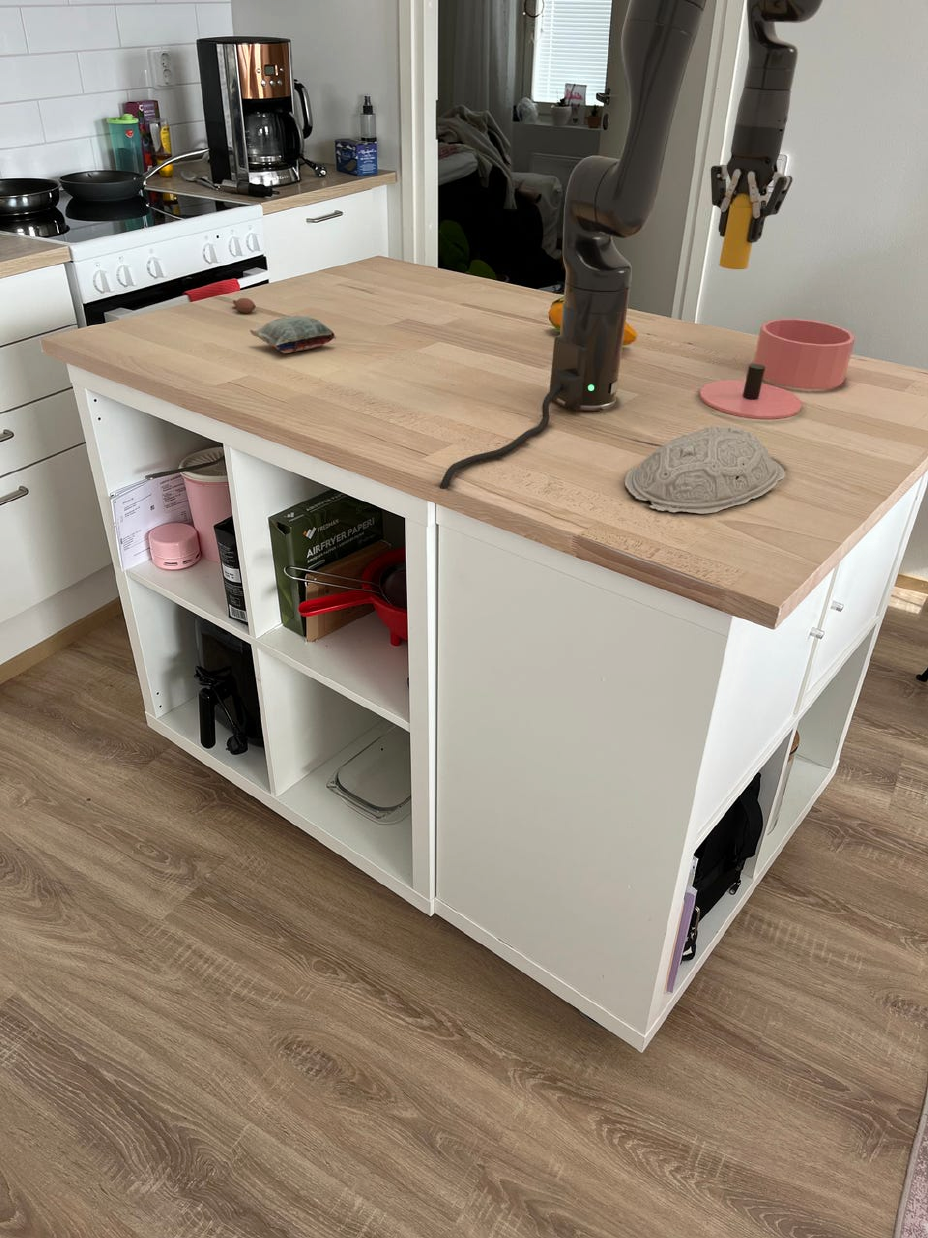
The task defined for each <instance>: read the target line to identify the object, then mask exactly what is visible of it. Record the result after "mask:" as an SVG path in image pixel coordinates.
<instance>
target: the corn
mask: <svg viewBox="0 0 928 1238" xmlns="http://www.w3.org/2000/svg"><path fill="white" fill-rule="evenodd" d="M563 300H564V295H562V296H561V297H559V298H557V299H556V300H554V301H552V303H551V305H550V309H549V310H548V320H549V322H550V324H551V325H552V326H553V328H555V330H556V331H557V332H559V333H560V331H561V320H562V310H563ZM637 337H638V333H637V331H636V330H635V328H633V327H632V326H631V325H630V324H629V323H628V322H626V323H625V330H624V338H623V345H622V346H629V345H631V344H632V343H634V342H636V340H637Z"/></svg>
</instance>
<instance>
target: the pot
mask: <svg viewBox="0 0 928 1238" xmlns="http://www.w3.org/2000/svg"><path fill="white" fill-rule="evenodd" d="M855 341H856V337H855V336H854V334H853V333H852V332H851V331H849V330H847V329H846V328H843V327H841V326H838V325H834V324H831V323H829V322H828V323H827V322H822V321H817V320H811V319H802V318H777V319H772V320H767V321H765V322H764V323H762V324H761V325H760V329H759V335H758V338H757V344H756V347H755V352H754V358H753V363H752V364H760V365H763V366H765V372H764V376H763V380H764V381H765V380H766V381H768V382H770V383H773V384H776V385H781V386H785V387H790V388H795V389H796V388H797V389H806V390H827V389H832V388H835V387H836V388H837V387H839V386H841V385H842V384H843V382H844V381H845V377H846V374H847V370H848V367H849V363H850V359H851V355H852V353H853V352H852V351H853V349H854V345H855Z"/></svg>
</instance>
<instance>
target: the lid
mask: <svg viewBox="0 0 928 1238" xmlns="http://www.w3.org/2000/svg"><path fill="white" fill-rule="evenodd" d="M764 372H765V366H763V365H760V364H753V363H750V364H749V365H748V369H747V372H746V378H745V380H741V379H732V380H731V379H728V380H718V381H712V382H709V383H707V384H705V385H703V386H702V387H701V388H700V390H699V398H700V399H701V401H702V402H703V403H705V404H706V405H707V406H709V407H711V408H713V409H715V410H716V411H720V412H723V413H726V414H729V415H734V416H737V417H743V418H749V419H760V420H761V419H762V420H763V419H764V420H774V419H782V418H784V419H785V418H788V417H792V416H794V415H797V414H799V412H800V411H801V410H802V405H803V403H802V400H801V399H800V398H799V397H798V396H797V395H796V394H795V393H793V392H791V391H789V390H787V389H784V388H782V387H780V386H776V385H771V384H769V383H764V382H763V380H764V379H763V376H764Z"/></svg>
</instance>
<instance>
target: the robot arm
mask: <svg viewBox="0 0 928 1238" xmlns="http://www.w3.org/2000/svg"><path fill="white" fill-rule="evenodd" d="M823 2H824V0H746V16H747V17H746V19H747V32H748V36H747V37H748V61H747V65H746V66H747V67H746V71H745V76H744V81H743V82H744V83H743V88H742V92H741V95H740V99H739V102H738V106H737V111H736V117H735V123H734V129H733V134H732V140H731V145H730V158H729V160H728V161H727V163H726V164H717V165H712V166H711V167H710V187H711V188H710V189H711V190H710V191H711V205H712V206H714V207H715V206H716V207H717V208H718V209H719V210H720V216H719V221H718V222H719V223H718V227H717V228H718V232H719V236H720V237H723V238H724V236H725V231H726V225H727V220H728V214H729V209H730V204H731V203H733V200H734V199H735V197H736V196H737V195H738V194H740V193H742V192H745V193H746V194H749V195H750V201H751V203H752V205H753V216H754V218H751V223H750V228H749V233H748V238H747V242H750V243H752V244H755V243H756V242H758V241H759V240H760V239H761V237H762V235H763V230H764V225H765V221H766V218H767V217H770V216H774V215H775V216H776V215H777V214H778V213H779V212H780V209H781V208H782V205H783V204H784V200H785V198H786V196H787V194H788V191H789V189H790V187H791V185H792V183H793V181H794V180H793V176H792V175H785V174H783V173H781V172H779V169H778V160H779V157H780V154H781V150H782V145H783V141H784V135H785V130H786V125H787V123H788V122H787V121H788V118H789V117H788V116H789V111H790V105H791V104H790V103H791V93H792V92H791V91H792V88H793V82H794V78H795V73H796V67H797V62H798V56H799V51H798V47H797V46H796V45H794V44H792V43H791V42H788V41H784V40H782V39H780V38H779V37H778V35H777V30H776V23H784V24H785V23H787V24H802V23H805V22H807V21H809V20H810V19H813V18H814V16H815V15H816V14H817V13H818V12H819V10H820V8H821V6H822V4H823ZM706 4H707V0H629V2H628V7H627V11H626V14H625V18H624V22H623V25H622V31H621V37H620V55H621V64H622V69H623V75H624V80H625V86H626V91H627V98H628V109H629V110H628V111H629V113H628V121H627V129H626V135H625V139H624V143H623V148H622V151H621V154H620V158H614V157H609V156H603V155H590V156H587V157H585V158H583V159H581V160H580V161H579V162H578V163H577V164H576V165H575V167H574V168H573V170H572V172H571V174H570V177H569V180H568V183H567V186H566V190H565V200H564V207H563V208H564V209H563V232H562V261H563V266H564V268H565V279H564V280H565V281H564V291H563V296H564V300H563V310H562V320H561V331H560V332H559V335H556V336H555V337H554V339H553V349H552V358H551V370H550V371H551V373H550V382H549V392H548V393H547V394H546V395H545V396H544V399H543V401H542V404H541V412H542V413H541V414H542V417H541V418H542V419H541V420H540V423H539V424H538V425H537V426H535V427H532V428H529V429H528V430H526V431H525V432H523V433H521V435H520V436H518V437H517V438H516V439H515V440H513V441H512V442H510V443H508V444H507V445H504V446H502V447H500V448H498V449H494V450H491V451H487V452H486V451H485V452H482V453H478V454H474V455H471V456H468V457H465V458H463V459H461V460H459V461H457V462H455V463H452V464H451V465H450V466H449V467H448V468H447V469H446V471H445V473H444V475H443V476H442V480H441V482H440V484H439V490H440V489H441V490H446V489H448V488H449V486H450V484H451V481H452V479H453V477H454V475H455V474H456V472H458V471H460V470H462V469H465V468H467V467H469V466H472V465H474V464H477V463H481V462H485V461H489V460H493V459H496V458H499V457H502V456H505V455H507V454H509V453H511V452H513V451H515V450H516V449H517V448H519V447H520V446H522V444H524V443H525V442H526V441H528V440H529V439H530V438H532V437H534V436H537V435H539V434H541V433H542V432H544V430H545V429H546V428H547V427H548V424H549V421H550V404H551V402H554V403H556V404H559V406H562V407H564V408H565V409H568V410H570V411H572V412H578V411H584V412H585V411H586V412H594V411H595V412H598V411H604V410H605V408H608V407H611V406H613V405H614V404H616V401H617V392H618V391H619V385H620V379H619V376H620V375H619V374H620V368H621V359H622V352H623V346H624V345H623V338H624V330H625V323H627V322H626V321H627V316H628V315H627V314H628V307H629V299H630V292H631V285H632V279H633V278H632V276H633V268H632V265H631V263H630V262H629V261H628V260H627V259H626V258H625V257H624V256H623V255H622V254H621V253H620V252H619V251H618V249H617V248H616V245H615V244H614V241H613V237H615V238H619V239H631V238H633V237H635V236H637V235H638V234H639V233H641V231H642V230H643V229H644V227H645V226H646V224H647V223H648V222H649V219H650V217H651V215H652V212H653V209H654V207H655V204H656V200H657V196H658V192H659V187H660V183H661V178H662V175H663V174H662V173H663V169H664V164H665V163H664V162H665V159H666V154H667V147H668V143H669V137H670V134H671V128H672V124H673V121H674V116H675V112H676V108H677V105H678V100H679V97H680V94H681V90H682V86H683V82H684V78H685V75H686V71H687V68H688V64H689V61H690V58H691V55H692V52H693V50H694V46H695V43H696V39H697V36H698V33H699V29H700V26H701V21H702V19H703V16H704V12H705V7H706ZM727 177H729V180H730V182H729V183H728V186H727ZM772 182H773V183H772ZM771 183H772V188H773V189H772V191H771V194H770V193H769V185H770V184H771ZM769 194H770V195H769Z"/></svg>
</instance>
